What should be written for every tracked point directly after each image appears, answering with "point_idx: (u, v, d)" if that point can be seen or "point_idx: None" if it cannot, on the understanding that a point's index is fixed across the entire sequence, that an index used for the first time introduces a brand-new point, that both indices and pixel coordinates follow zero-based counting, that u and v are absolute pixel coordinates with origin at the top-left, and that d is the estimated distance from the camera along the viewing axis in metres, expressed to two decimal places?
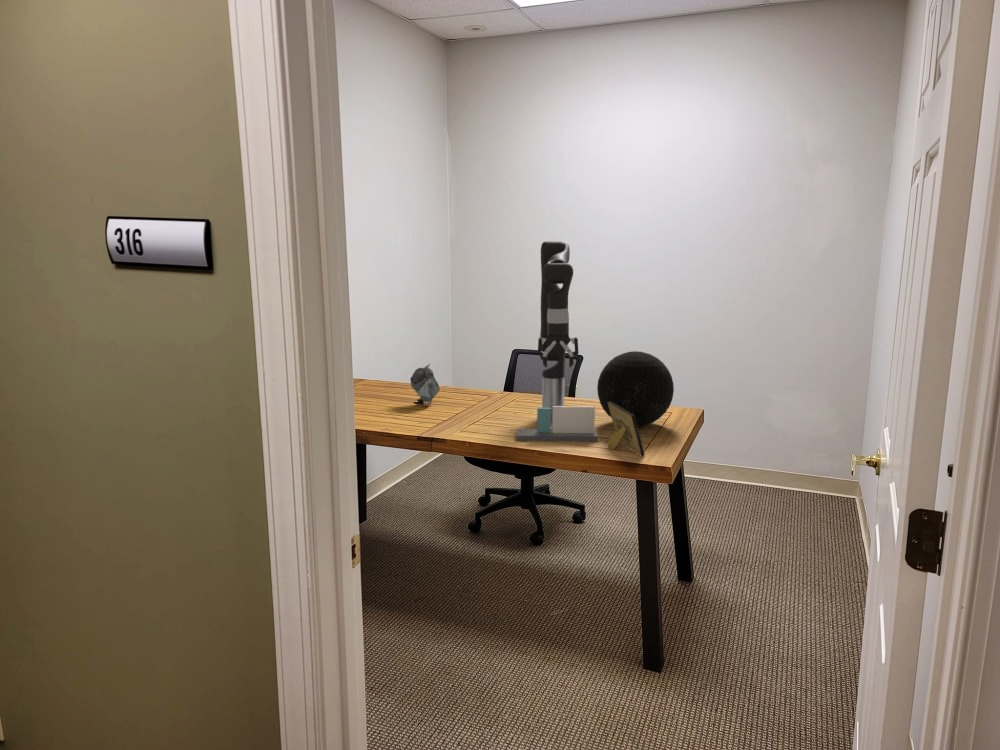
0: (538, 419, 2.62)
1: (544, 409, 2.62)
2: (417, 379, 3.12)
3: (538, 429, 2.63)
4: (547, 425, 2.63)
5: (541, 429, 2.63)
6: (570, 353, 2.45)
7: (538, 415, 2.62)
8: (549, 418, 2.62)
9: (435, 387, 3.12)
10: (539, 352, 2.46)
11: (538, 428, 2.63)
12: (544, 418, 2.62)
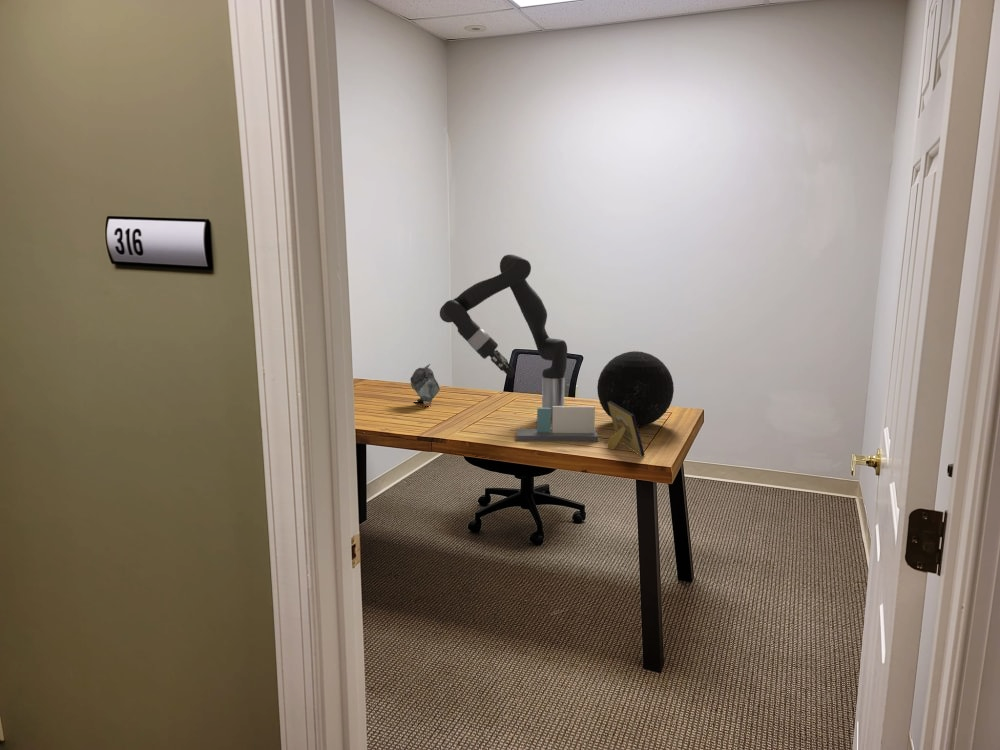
0: (538, 419, 2.62)
1: (544, 409, 2.62)
2: (417, 379, 3.12)
3: (538, 429, 2.63)
4: (547, 425, 2.63)
5: (541, 429, 2.63)
6: None
7: (538, 415, 2.62)
8: (549, 418, 2.62)
9: (435, 387, 3.12)
10: None
11: (538, 428, 2.63)
12: (544, 418, 2.62)
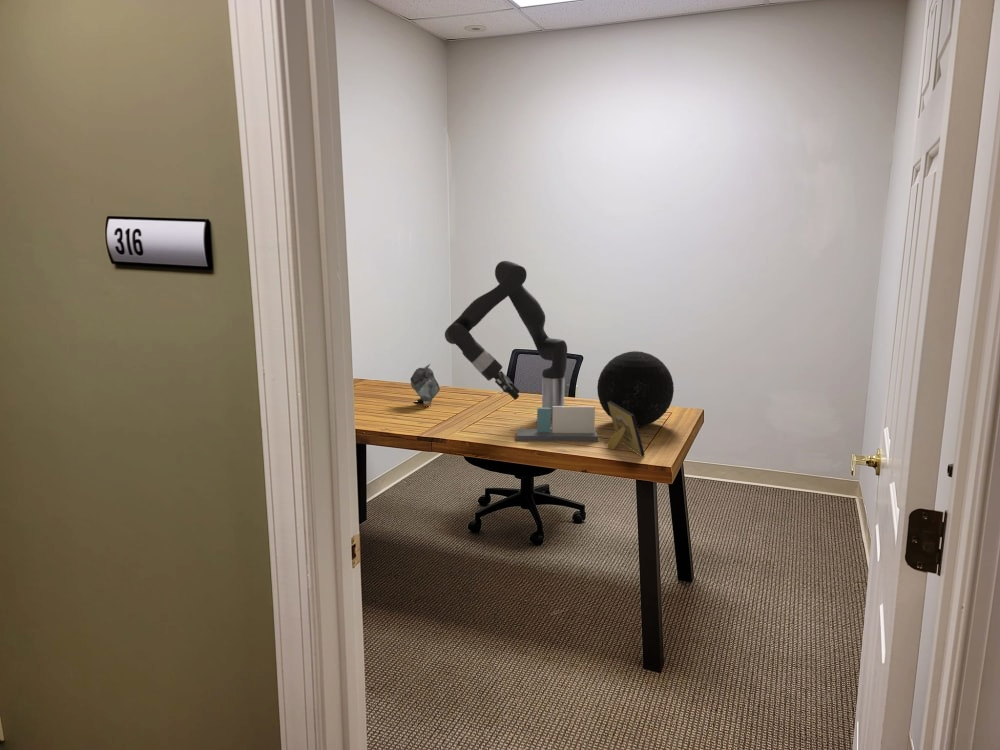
0: (538, 419, 2.62)
1: (544, 409, 2.62)
2: (417, 379, 3.12)
3: (538, 429, 2.63)
4: (547, 425, 2.63)
5: (541, 429, 2.63)
6: None
7: (538, 415, 2.62)
8: (549, 418, 2.62)
9: (435, 387, 3.12)
10: None
11: (538, 428, 2.63)
12: (544, 418, 2.62)
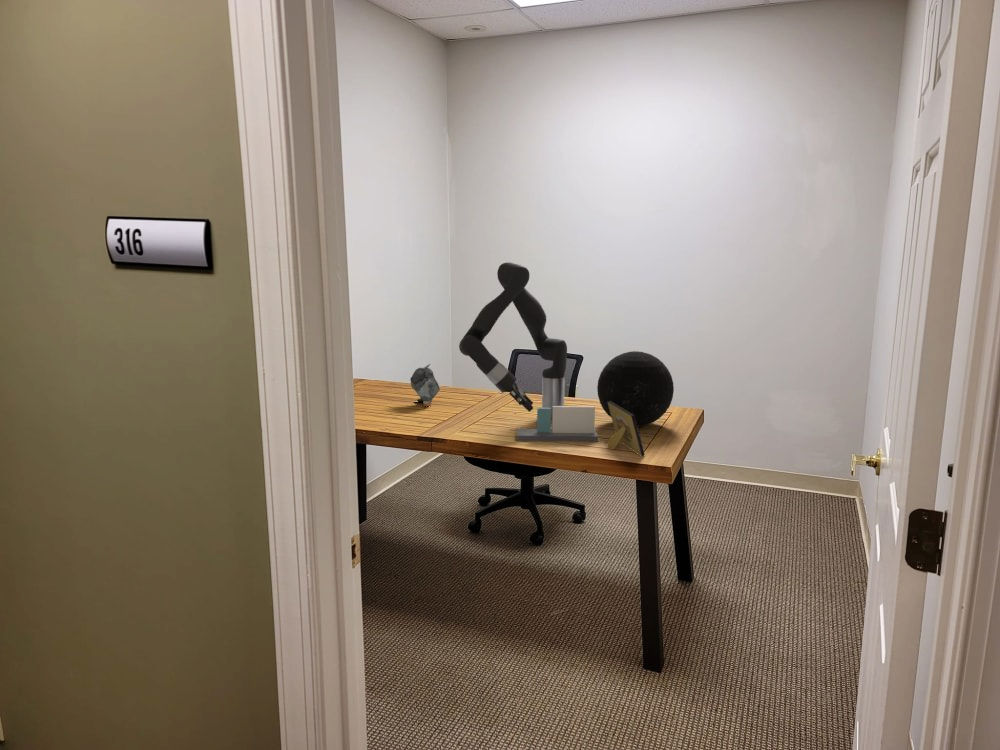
0: (538, 419, 2.62)
1: (544, 409, 2.62)
2: (417, 379, 3.12)
3: (538, 429, 2.63)
4: (547, 425, 2.63)
5: (541, 429, 2.63)
6: None
7: (538, 415, 2.62)
8: (549, 418, 2.62)
9: (435, 387, 3.12)
10: None
11: (538, 428, 2.63)
12: (544, 418, 2.62)
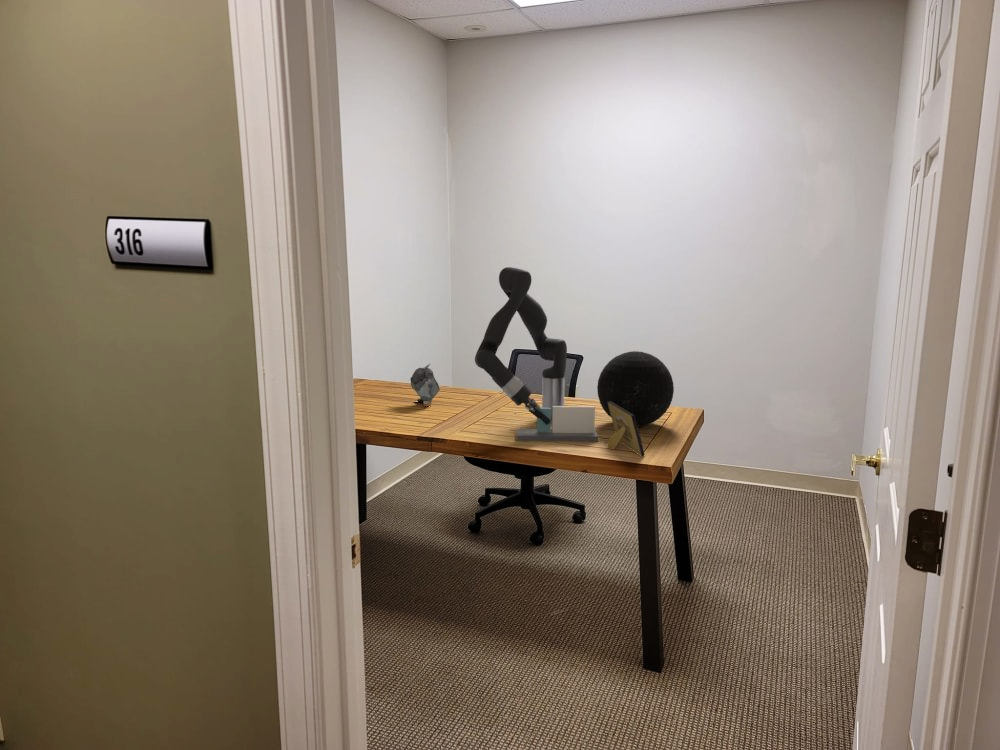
0: (538, 419, 2.62)
1: (544, 409, 2.62)
2: (417, 379, 3.12)
3: (538, 429, 2.63)
4: (547, 425, 2.63)
5: (541, 429, 2.63)
6: None
7: None
8: (549, 418, 2.62)
9: (435, 387, 3.12)
10: None
11: (538, 428, 2.63)
12: None
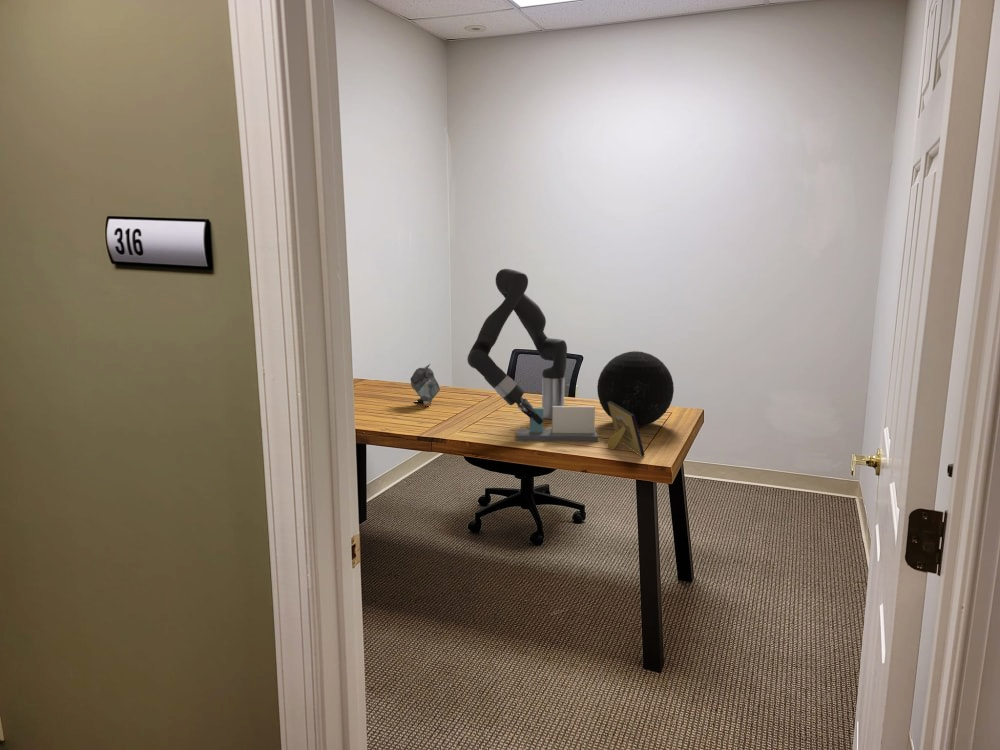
0: (531, 419, 2.62)
1: (537, 409, 2.62)
2: (417, 379, 3.12)
3: (531, 429, 2.63)
4: (540, 425, 2.63)
5: (534, 429, 2.63)
6: None
7: None
8: (542, 418, 2.62)
9: (435, 387, 3.12)
10: None
11: (531, 428, 2.63)
12: None
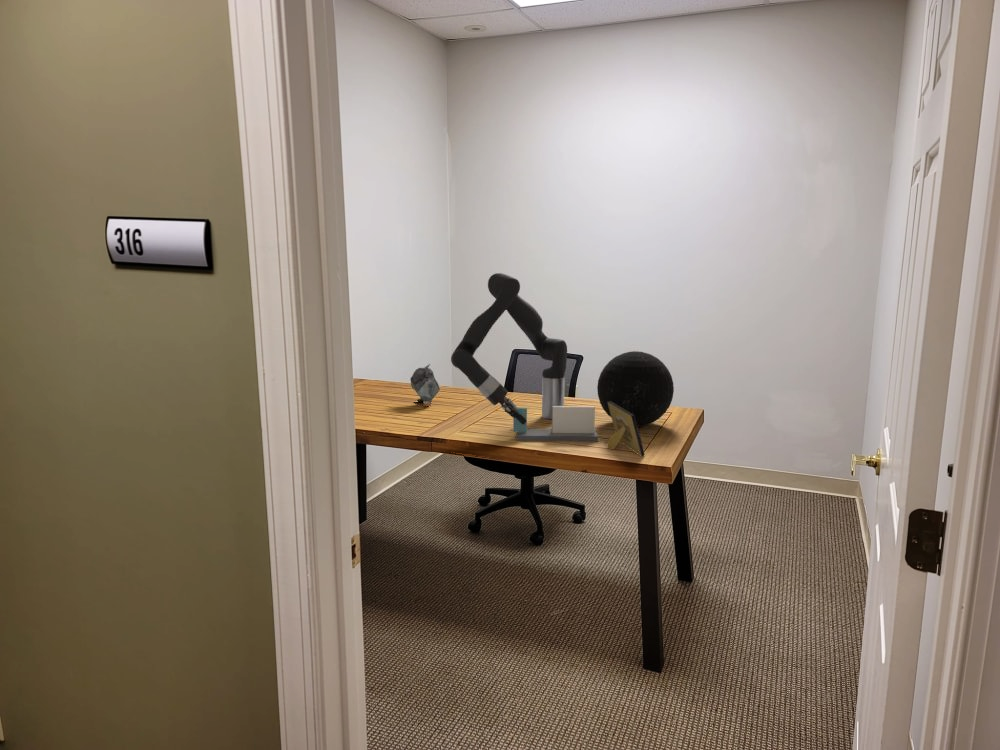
0: (514, 419, 2.63)
1: (520, 409, 2.62)
2: (417, 379, 3.12)
3: (514, 429, 2.63)
4: (523, 425, 2.63)
5: (517, 429, 2.63)
6: None
7: None
8: (525, 418, 2.62)
9: (435, 387, 3.12)
10: None
11: (514, 428, 2.63)
12: None
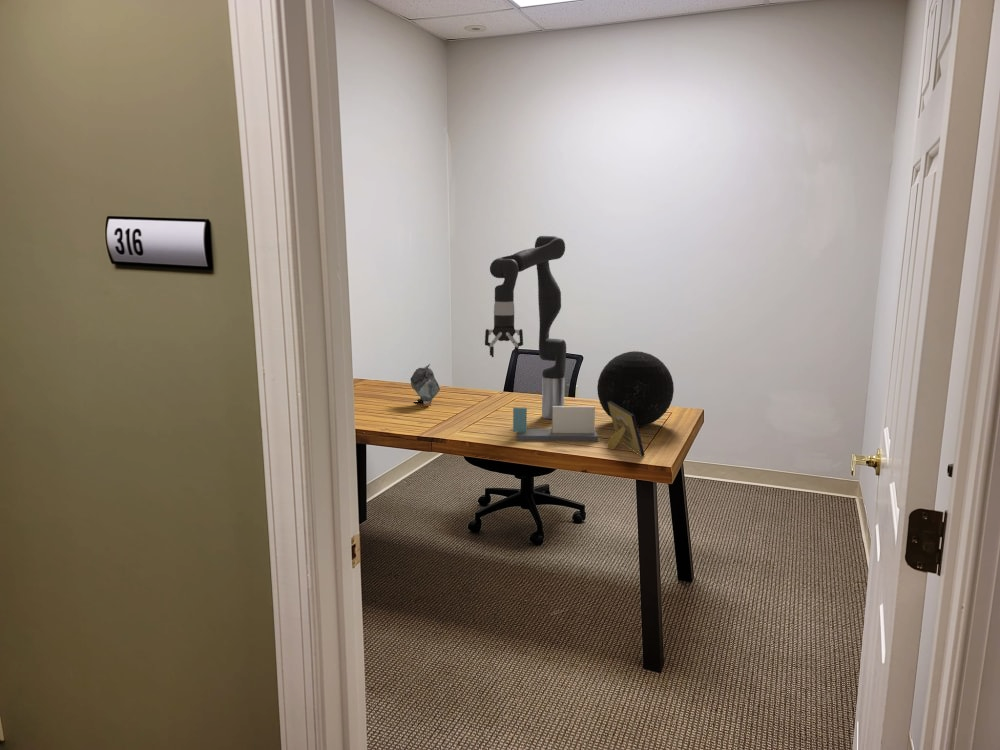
0: (514, 419, 2.63)
1: (520, 409, 2.62)
2: (417, 379, 3.12)
3: (514, 429, 2.63)
4: (523, 425, 2.63)
5: (517, 429, 2.63)
6: (515, 344, 2.60)
7: (514, 415, 2.62)
8: (525, 418, 2.62)
9: (435, 387, 3.12)
10: (486, 343, 2.60)
11: (514, 428, 2.63)
12: (520, 418, 2.62)
